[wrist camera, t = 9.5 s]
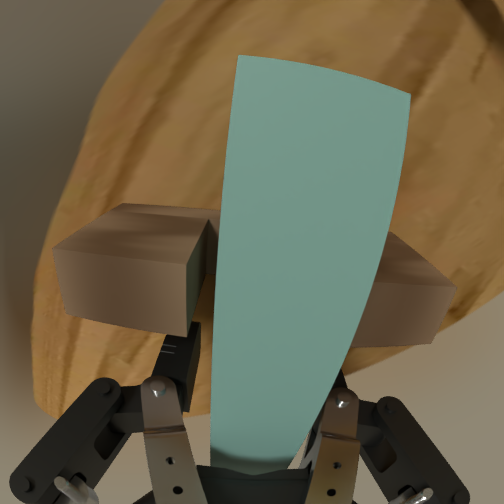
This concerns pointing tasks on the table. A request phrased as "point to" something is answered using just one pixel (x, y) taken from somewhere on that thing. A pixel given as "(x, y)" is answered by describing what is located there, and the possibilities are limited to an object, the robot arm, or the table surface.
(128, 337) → the table surface
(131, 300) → the brown wooden u-shaped block
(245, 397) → the teal arch block
